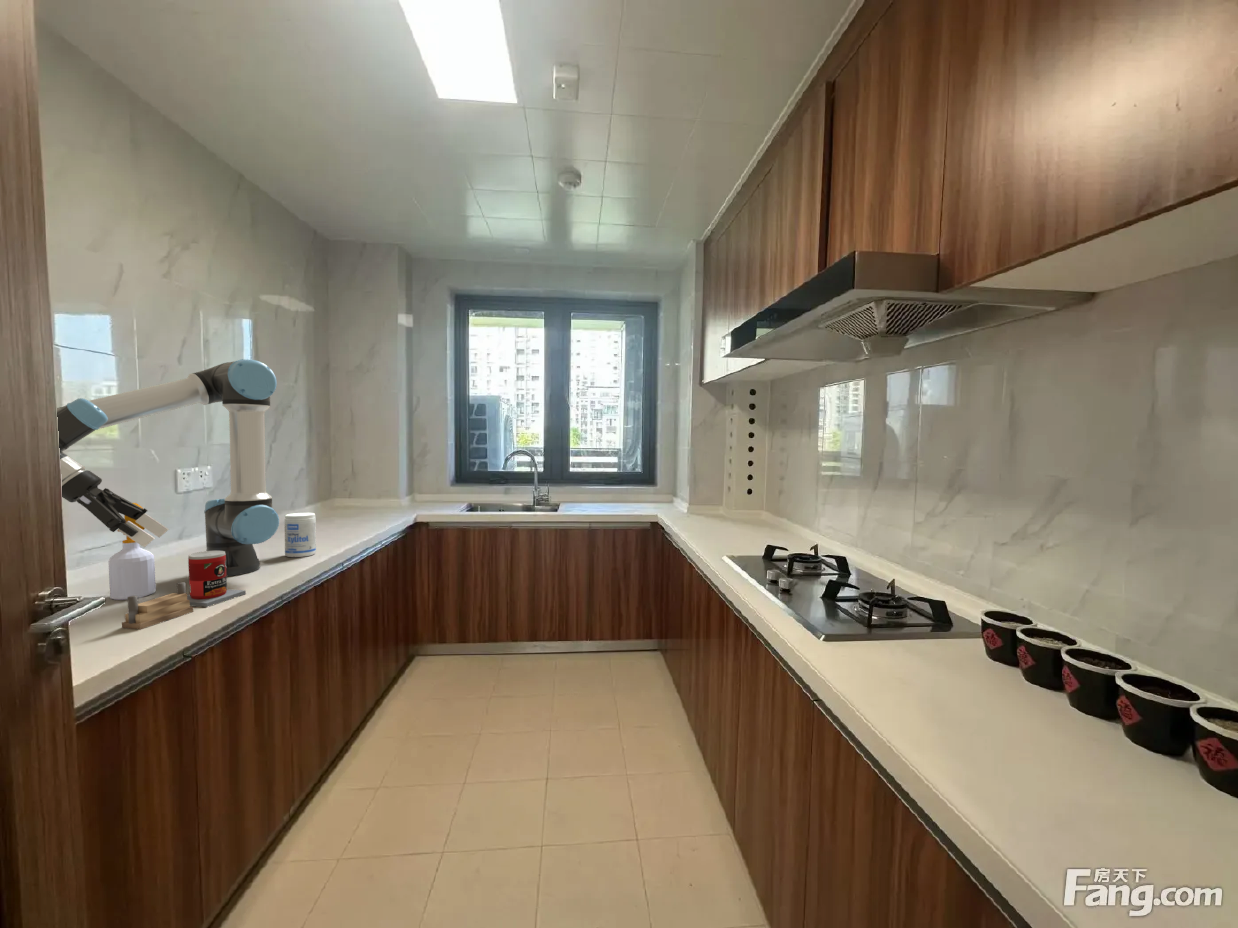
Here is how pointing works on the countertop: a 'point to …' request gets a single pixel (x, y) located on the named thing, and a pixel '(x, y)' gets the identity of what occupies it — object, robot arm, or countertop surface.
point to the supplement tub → (300, 534)
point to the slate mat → (216, 598)
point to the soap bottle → (131, 570)
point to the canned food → (207, 574)
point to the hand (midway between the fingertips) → (157, 538)
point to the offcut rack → (157, 609)
